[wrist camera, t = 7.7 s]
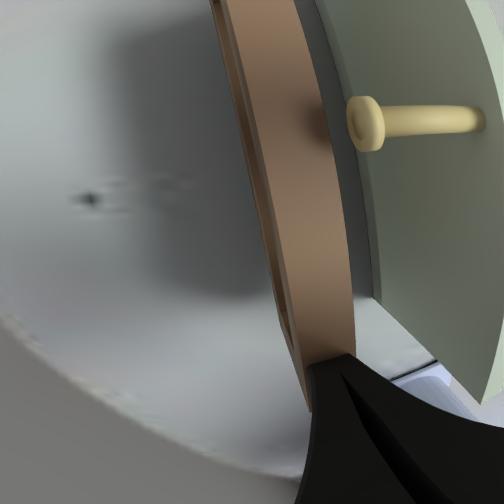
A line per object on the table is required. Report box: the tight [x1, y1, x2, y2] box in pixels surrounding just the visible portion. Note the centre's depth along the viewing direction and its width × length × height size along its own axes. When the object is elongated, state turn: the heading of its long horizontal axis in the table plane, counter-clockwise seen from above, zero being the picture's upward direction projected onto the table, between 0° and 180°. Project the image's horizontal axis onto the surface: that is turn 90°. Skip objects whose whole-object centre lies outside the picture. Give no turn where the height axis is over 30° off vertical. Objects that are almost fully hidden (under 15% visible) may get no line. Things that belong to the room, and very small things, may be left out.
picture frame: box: [210, 0, 356, 412], centre depth 9 cm, size 16×2×6 cm, turn 12°
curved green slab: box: [314, 0, 504, 405], centre depth 10 cm, size 18×8×10 cm, turn 12°
